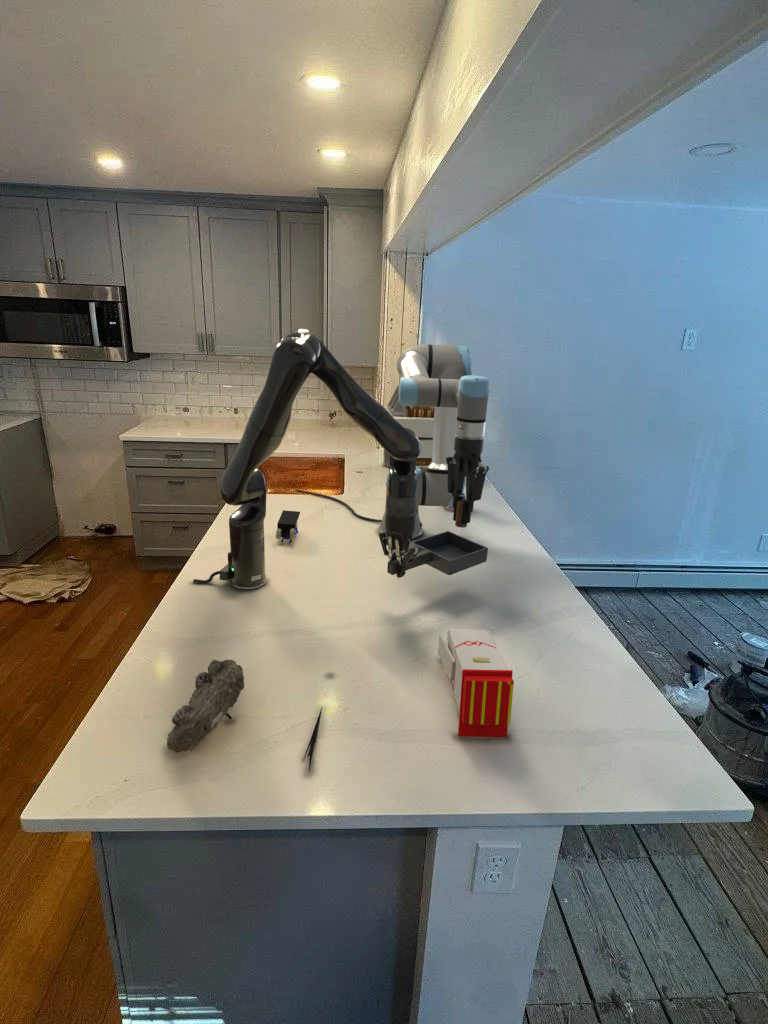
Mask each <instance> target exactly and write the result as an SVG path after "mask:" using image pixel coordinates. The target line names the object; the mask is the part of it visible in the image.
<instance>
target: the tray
mask: <svg viewBox="0 0 768 1024" xmlns="http://www.w3.org/2000/svg"><path fill="white" fill-rule="evenodd" d="M413 543H414V544H415V546H416V547H417V546H419V547H420V551H419V553H418V554H417V556H416V558H415V559H414V561H413V563H410V564H407V565H406V571H409V570H411V569H414V568H418V567H420V566H423V565H427V566H429V567H431V568H433V569H435V570H437V571H439V572H440V573H443V574H445V575H447V576H453V575H454V574H457V573H461V572H463V571H466V570H468V569H470V568H471V569H472V568H474V567H476V566H478V565H481V564H483V563H487V560H488V554H489V553H488V551H489V547H487V546H485V545H482V544H480V543H478V542H475V541H473V540H470V539H468V538H466V537H463V536H461V535H460V534H459V535H458V534H457V533H454V532H452V531H450V530H446V531H443V532H440V533H436V534H433V535H431V536H427V537H424V538H420V539H416V540H413ZM402 559H403V556H402ZM397 564H398V563H397V559H395V560H392V561H387V569H386V570H387V571H386V572H387V574H389V575H391V576H396V574H397Z"/></svg>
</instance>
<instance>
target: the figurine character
mask: <svg viewBox="0 0 768 1024" xmlns="http://www.w3.org/2000/svg"><path fill="white" fill-rule="evenodd" d="M300 515H301V511H296V510H285V509H284V510H283V509H282V512H281V514H280V517H279V518H278V521H277V526H276V532H275V539H276V540H280V544H283V543H284V541H288V542H289V544H292V542H293V540H295V539H296V535H298V534H299V530H298V526H299V524H298V520H299V517H300Z"/></svg>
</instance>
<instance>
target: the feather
mask: <svg viewBox="0 0 768 1024" xmlns="http://www.w3.org/2000/svg"><path fill="white" fill-rule="evenodd" d="M329 675H330V676H331V675H332V674H331V673H330V674H329ZM322 710H323V707H321V708H320V710H319V713H318V716H317V719H316V723H315V725H314V728H313V731H312V733H311V737H310V739H309V742H308V745H307V748H306V751H305V754H304V757H303V760H302V763H301V767H302V765H303V763H304V761H305V758H308V759H309V760H308V762H307V763H308V764H307V766H308V771H310V770H311V766H312V765H311V764H312V760H313V757H315V756H314V755H315V751H316V749H315V746H317V739H318V733H319V729H320V722H321V717H322V712H323V711H322ZM313 754H314V755H313ZM306 755H307V757H306Z"/></svg>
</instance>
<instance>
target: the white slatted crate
mask: <svg viewBox="0 0 768 1024" xmlns="http://www.w3.org/2000/svg"><path fill="white" fill-rule="evenodd" d="M386 409H387V410H388V411H389V412H390V414H391V415H392V416H393V418H394V419H395V420H396V421H397V422H398V423H399V424H401V425H402V426H403V427H404V428H408V429H411V430H412V431H413V432H415V434H416V435H417V437H418V439H419V442H420V446H421V450H420V454H419V456H418V457H417V462H416V467H427V466H428V465H430V464H431V462H432V448H433V429H434V410H435V407H426V406H413V407H411V406H406V405H401V404H400V403H399V384H398V385H397V386H396V388H395V390H394V392H393V394H392V395H391V398H390V400H389V402H388V404H387V405H386ZM383 466H384V467H388V468H390V467H389V453H388V452H387V451H386V450H385V449H384V448H383Z"/></svg>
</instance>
